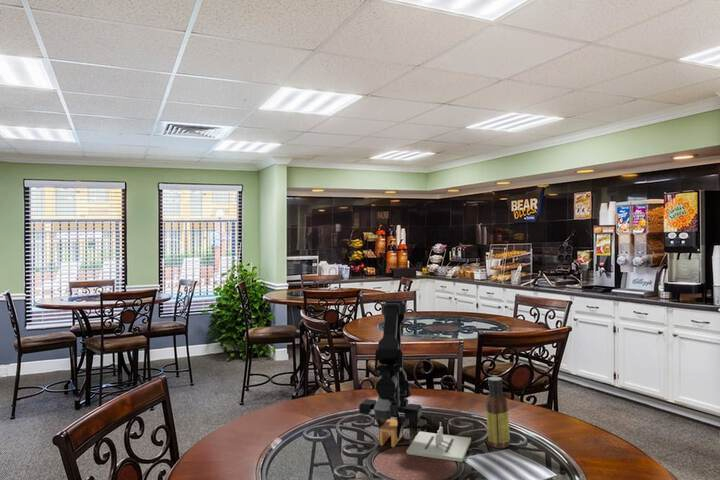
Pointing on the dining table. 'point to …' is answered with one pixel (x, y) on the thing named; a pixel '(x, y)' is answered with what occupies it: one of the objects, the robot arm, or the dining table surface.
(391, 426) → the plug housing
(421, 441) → the board
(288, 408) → the dining table surface
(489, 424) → the sauce bottle
